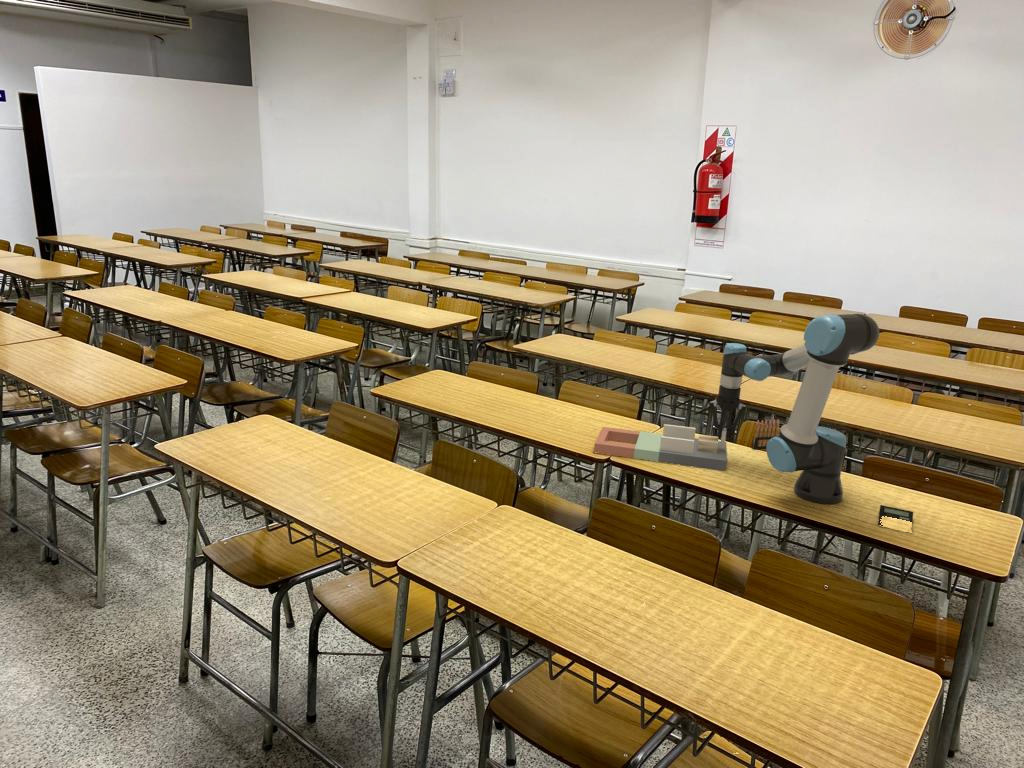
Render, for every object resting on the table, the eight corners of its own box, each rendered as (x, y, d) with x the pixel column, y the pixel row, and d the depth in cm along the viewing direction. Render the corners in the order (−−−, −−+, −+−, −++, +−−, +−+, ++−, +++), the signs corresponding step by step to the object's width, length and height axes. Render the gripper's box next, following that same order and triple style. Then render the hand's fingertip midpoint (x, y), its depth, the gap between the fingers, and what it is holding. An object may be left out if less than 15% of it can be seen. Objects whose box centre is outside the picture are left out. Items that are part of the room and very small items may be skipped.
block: (716, 453, 264) (718, 443, 263) (697, 450, 266) (698, 440, 265) (716, 446, 271) (718, 436, 270) (697, 444, 272) (699, 434, 271)
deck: (725, 471, 258) (728, 447, 256) (593, 453, 270) (595, 430, 268) (725, 451, 277) (727, 429, 274) (602, 436, 289) (603, 414, 286)
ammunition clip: (775, 446, 285) (779, 418, 281) (777, 448, 283) (782, 419, 279) (750, 448, 282) (754, 419, 279) (753, 449, 280) (757, 420, 277)
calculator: (877, 527, 221) (879, 518, 220) (878, 512, 231) (880, 504, 230) (912, 535, 216) (913, 526, 216) (911, 520, 226) (913, 511, 226)
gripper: (748, 385, 262) (740, 445, 269) (712, 380, 265) (704, 440, 272) (749, 390, 255) (740, 452, 262) (711, 386, 258) (703, 447, 265)
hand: (722, 446), depth 267 cm, fingers closed
